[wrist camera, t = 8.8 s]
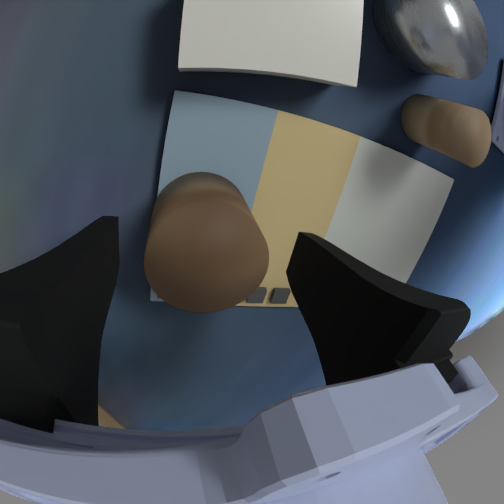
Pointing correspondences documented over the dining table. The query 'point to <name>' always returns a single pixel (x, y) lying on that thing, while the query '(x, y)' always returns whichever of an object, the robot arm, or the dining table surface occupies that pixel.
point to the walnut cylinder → (204, 245)
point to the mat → (307, 185)
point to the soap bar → (274, 38)
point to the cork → (447, 128)
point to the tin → (434, 35)
